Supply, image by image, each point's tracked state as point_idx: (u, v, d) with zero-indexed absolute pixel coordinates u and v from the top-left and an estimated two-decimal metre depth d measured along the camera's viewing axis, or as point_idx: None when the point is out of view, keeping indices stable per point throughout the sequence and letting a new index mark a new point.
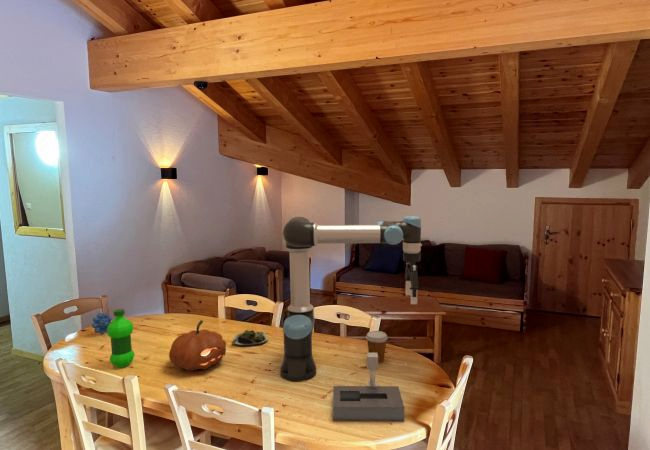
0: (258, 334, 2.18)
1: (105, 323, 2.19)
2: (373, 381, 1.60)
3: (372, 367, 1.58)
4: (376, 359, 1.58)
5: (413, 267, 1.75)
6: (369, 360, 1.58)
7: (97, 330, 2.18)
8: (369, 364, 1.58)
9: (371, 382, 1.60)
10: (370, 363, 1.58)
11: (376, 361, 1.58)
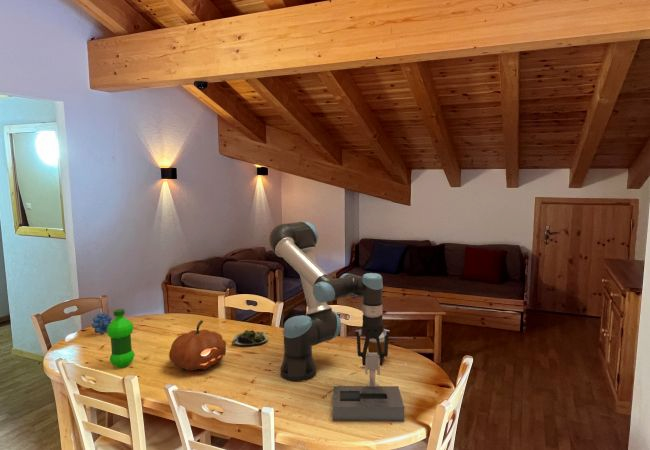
0: (258, 334, 2.18)
1: (105, 323, 2.19)
2: (373, 381, 1.60)
3: (372, 367, 1.58)
4: (376, 359, 1.58)
5: (355, 332, 1.59)
6: (369, 360, 1.58)
7: (97, 330, 2.18)
8: (369, 364, 1.58)
9: (371, 382, 1.60)
10: (370, 363, 1.58)
11: (376, 361, 1.58)
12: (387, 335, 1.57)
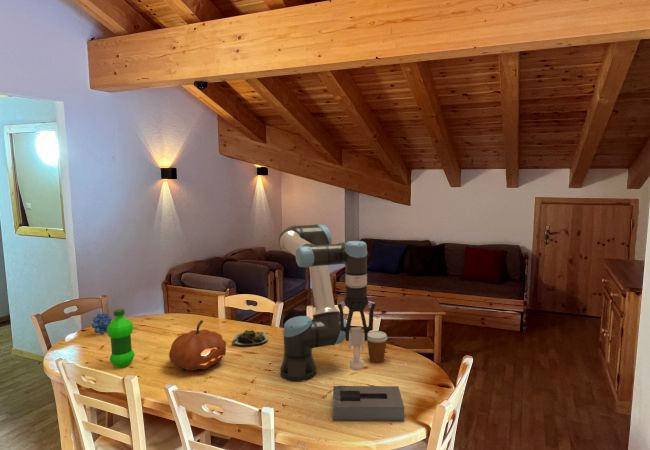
0: (258, 334, 2.18)
1: (105, 323, 2.19)
2: (357, 358, 1.48)
3: (356, 342, 1.46)
4: (360, 334, 1.46)
5: None
6: (353, 335, 1.46)
7: (97, 330, 2.18)
8: (353, 339, 1.46)
9: (355, 359, 1.48)
10: (354, 337, 1.46)
11: (360, 336, 1.46)
12: (372, 307, 1.46)
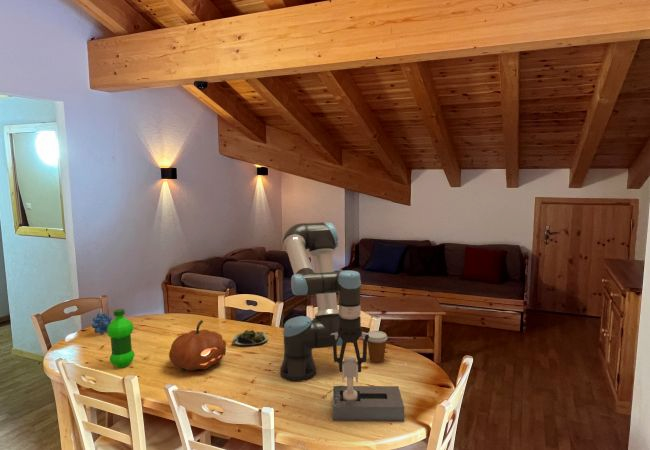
0: (258, 334, 2.18)
1: (105, 323, 2.19)
2: (351, 389, 1.45)
3: (349, 374, 1.44)
4: (354, 365, 1.43)
5: (331, 335, 1.45)
6: (346, 366, 1.44)
7: (97, 330, 2.18)
8: (346, 371, 1.44)
9: (349, 390, 1.46)
10: (347, 369, 1.44)
11: (354, 367, 1.44)
12: (366, 339, 1.43)
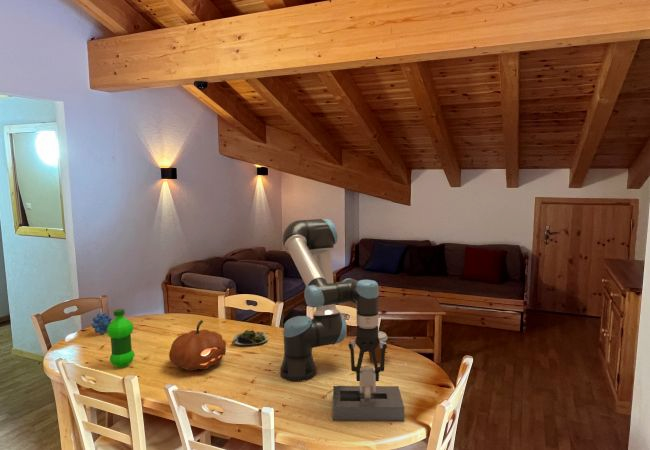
0: (258, 334, 2.18)
1: (105, 323, 2.19)
2: (368, 398, 1.46)
3: (367, 383, 1.44)
4: (371, 374, 1.43)
5: (348, 344, 1.45)
6: (364, 375, 1.44)
7: (97, 330, 2.18)
8: (364, 380, 1.44)
9: None
10: (365, 378, 1.44)
11: (371, 377, 1.44)
12: (383, 348, 1.43)
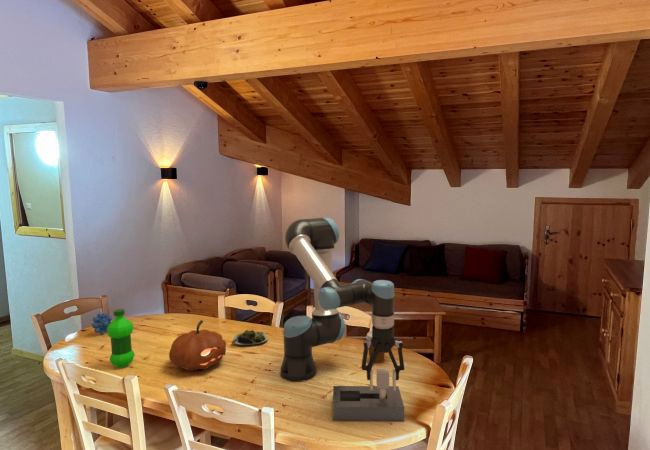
0: (258, 334, 2.18)
1: (105, 323, 2.19)
2: None
3: (382, 385, 1.44)
4: (387, 377, 1.44)
5: (363, 343, 1.45)
6: (379, 378, 1.44)
7: (97, 330, 2.18)
8: (379, 382, 1.44)
9: None
10: (381, 381, 1.44)
11: (387, 379, 1.44)
12: (400, 347, 1.43)
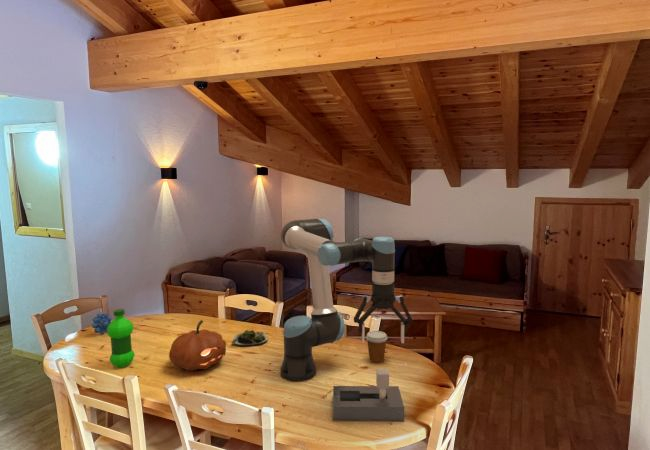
0: (258, 334, 2.18)
1: (105, 323, 2.19)
2: None
3: (382, 385, 1.44)
4: (387, 377, 1.44)
5: (363, 297, 1.44)
6: (379, 378, 1.44)
7: (97, 330, 2.18)
8: (379, 382, 1.44)
9: None
10: (380, 381, 1.44)
11: (387, 379, 1.44)
12: (401, 301, 1.42)
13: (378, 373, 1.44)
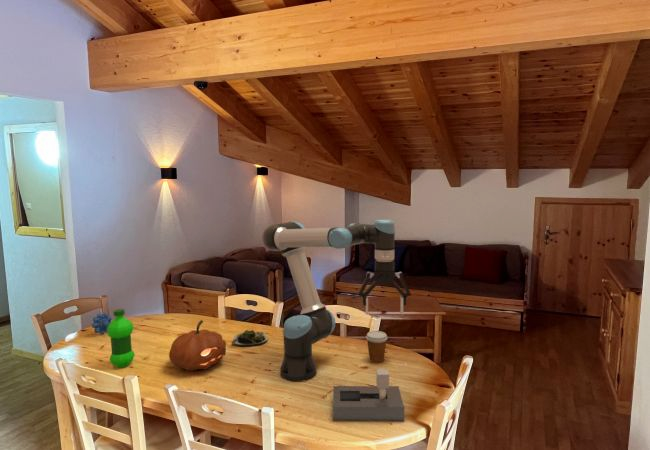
0: (258, 334, 2.18)
1: (105, 323, 2.19)
2: None
3: (382, 385, 1.44)
4: (387, 377, 1.44)
5: None
6: (379, 378, 1.44)
7: (97, 330, 2.18)
8: (379, 382, 1.44)
9: None
10: (380, 381, 1.44)
11: (387, 379, 1.44)
12: (401, 276, 1.60)
13: (378, 373, 1.44)
